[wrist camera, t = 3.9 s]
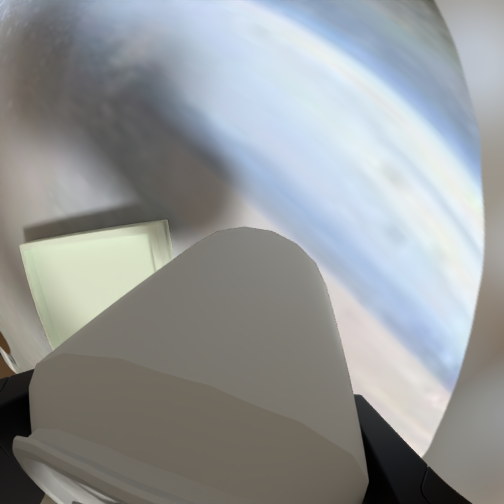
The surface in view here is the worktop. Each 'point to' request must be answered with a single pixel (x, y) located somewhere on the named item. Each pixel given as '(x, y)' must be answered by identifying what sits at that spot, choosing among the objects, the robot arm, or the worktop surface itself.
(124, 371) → the can
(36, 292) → the tray
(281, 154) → the worktop surface
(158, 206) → the worktop surface
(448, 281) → the worktop surface
